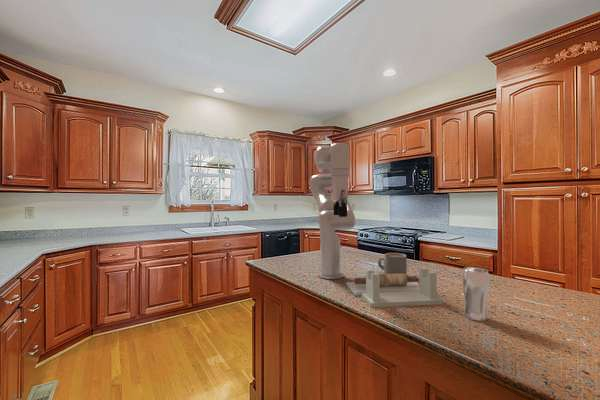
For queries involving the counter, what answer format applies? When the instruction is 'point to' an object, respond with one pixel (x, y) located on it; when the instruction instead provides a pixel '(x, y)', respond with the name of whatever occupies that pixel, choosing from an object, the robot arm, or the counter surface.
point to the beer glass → (475, 293)
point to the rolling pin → (390, 279)
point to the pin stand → (402, 298)
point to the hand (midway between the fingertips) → (340, 215)
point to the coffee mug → (394, 263)
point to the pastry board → (382, 288)
